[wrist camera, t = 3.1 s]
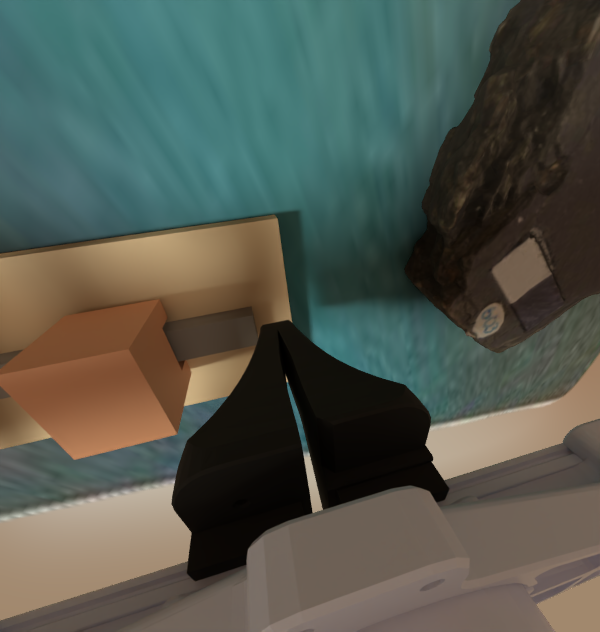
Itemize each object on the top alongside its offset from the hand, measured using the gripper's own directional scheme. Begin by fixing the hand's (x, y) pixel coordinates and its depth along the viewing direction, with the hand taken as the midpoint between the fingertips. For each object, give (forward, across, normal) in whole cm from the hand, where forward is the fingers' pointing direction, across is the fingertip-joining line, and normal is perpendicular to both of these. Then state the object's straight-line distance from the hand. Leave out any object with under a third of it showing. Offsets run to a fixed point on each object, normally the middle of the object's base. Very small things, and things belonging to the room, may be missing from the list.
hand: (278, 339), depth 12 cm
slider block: (+2, +7, 0) cm, 7 cm away
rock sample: (+4, -16, -4) cm, 17 cm away
